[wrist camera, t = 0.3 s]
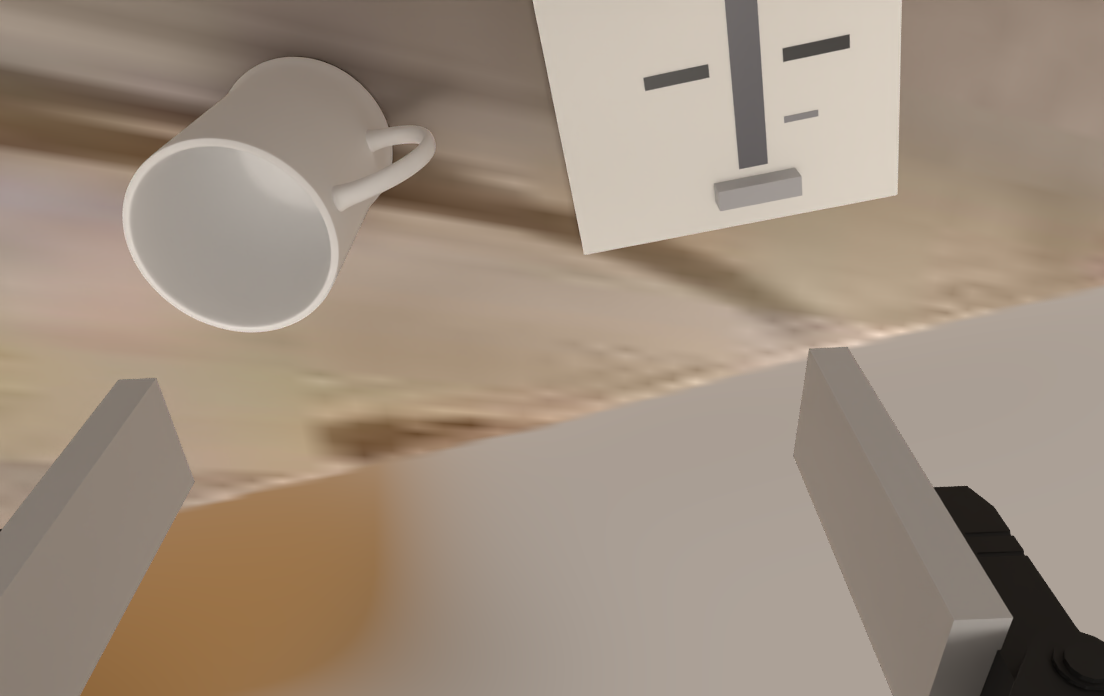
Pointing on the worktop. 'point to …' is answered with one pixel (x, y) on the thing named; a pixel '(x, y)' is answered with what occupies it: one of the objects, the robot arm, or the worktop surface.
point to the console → (720, 110)
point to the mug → (265, 195)
